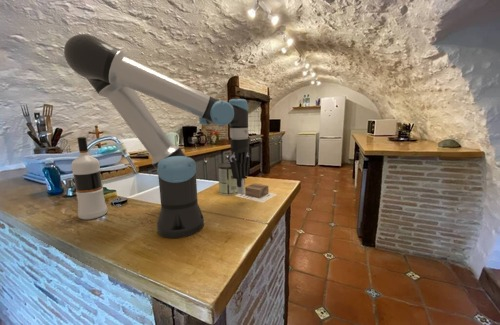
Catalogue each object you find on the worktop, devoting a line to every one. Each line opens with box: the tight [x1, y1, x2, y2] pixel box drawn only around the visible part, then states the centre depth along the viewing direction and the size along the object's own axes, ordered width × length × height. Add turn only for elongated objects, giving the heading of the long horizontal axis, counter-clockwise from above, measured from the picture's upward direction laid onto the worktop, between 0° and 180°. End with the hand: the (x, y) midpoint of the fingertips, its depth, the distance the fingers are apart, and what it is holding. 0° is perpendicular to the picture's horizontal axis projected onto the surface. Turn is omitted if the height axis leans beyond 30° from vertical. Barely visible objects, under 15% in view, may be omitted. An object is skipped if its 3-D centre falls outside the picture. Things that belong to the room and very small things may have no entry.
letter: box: [234, 192, 278, 203], centre depth 104 cm, size 13×16×1 cm
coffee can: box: [217, 162, 239, 196], centre depth 108 cm, size 10×10×14 cm
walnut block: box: [245, 182, 269, 198], centre depth 105 cm, size 8×8×4 cm
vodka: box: [70, 136, 109, 221], centre depth 81 cm, size 9×9×30 cm
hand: (241, 193), depth 94 cm, fingers closed
